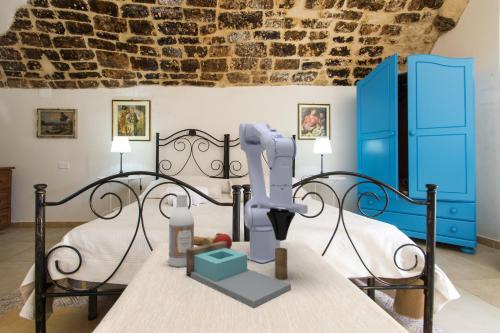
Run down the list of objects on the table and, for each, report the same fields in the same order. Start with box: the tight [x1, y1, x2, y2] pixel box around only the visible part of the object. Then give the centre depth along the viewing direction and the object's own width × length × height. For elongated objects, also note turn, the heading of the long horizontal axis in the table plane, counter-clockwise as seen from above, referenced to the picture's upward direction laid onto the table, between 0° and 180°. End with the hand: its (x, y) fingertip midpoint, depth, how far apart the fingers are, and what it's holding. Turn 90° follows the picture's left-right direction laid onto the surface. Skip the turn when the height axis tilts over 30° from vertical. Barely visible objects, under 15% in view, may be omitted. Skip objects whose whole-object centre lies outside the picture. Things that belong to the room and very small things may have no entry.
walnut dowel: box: [274, 247, 288, 281], centre depth 69 cm, size 3×3×7 cm
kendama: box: [194, 232, 233, 250], centre depth 96 cm, size 8×6×18 cm
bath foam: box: [168, 193, 195, 268], centre depth 80 cm, size 7×7×20 cm
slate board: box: [185, 268, 292, 308], centre depth 66 cm, size 12×24×1 cm, turn 45°
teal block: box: [194, 248, 248, 281], centre depth 70 cm, size 10×9×4 cm
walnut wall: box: [185, 241, 227, 278], centre depth 74 cm, size 12×2×7 cm, turn 135°
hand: (280, 239), depth 69 cm, fingers closed
